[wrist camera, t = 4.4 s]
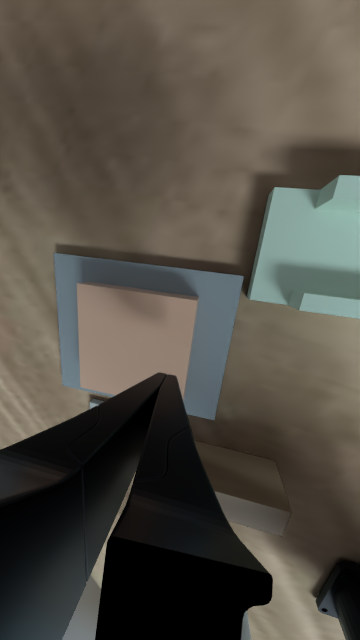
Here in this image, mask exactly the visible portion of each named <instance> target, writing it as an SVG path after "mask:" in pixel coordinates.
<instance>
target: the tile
mask: <svg viewBox="0 0 360 640" xmlns="http://www.w3.org/2000/svg"><path fill="white" fill-rule="evenodd" d="M198 303H199V297H196V296H189V295H182V294H175V293H168V292H160V291H153V290H146V289H139V288H132V287H125V286H118V285H111V284H104V283H97V282H84V283H77V305H78V333H79V360H80V387H81V388H86V389H90V390H94V391H99V392H103V393H107V394H112V395H117V394H119V393H121V392H123V391H125V390H126V389H128V388H130V387H132V386H134V385H136V384H138V383H139V382H141V381H143V380H145V379H147V378H149V377H151V376H152V375H154V374H156V373H158V372H161V373H166V374H167V375H168V374H171V375H176V376H177V379H178V383H179V387H180V390H181V394H182V398H183V402H184V398H185V392H186V385H187V379H188V372H189V365H190V358H191V351H192V344H193V337H194V330H195V324H196V317H197V310H198Z"/></svg>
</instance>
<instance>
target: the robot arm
mask: <svg viewBox="0 0 360 640" xmlns="http://www.w3.org/2000/svg"><path fill="white" fill-rule="evenodd" d="M136 469H137V470H136ZM135 472H136V474H135ZM134 474H135V477H134V481H133V485H132V488H131V491H130V495H129V498H128V501H127V503H126V506H125V508H124V510H123V512H122V514H121V516H120V518H119V520H118V522H117V524H116V526H115V528H114V530H113V531H112V533H111V535H110V537H109V539H108V542H107V547H106V555H105V563H104V572H103V580H102V588H101V596H100V604H99V613H98V621H97V629H96V637H95V640H241V634H242V622H243V617H244V613H245V612H246V611H247V610H248V609H249V608H251V607H253V606H259V605H266V604H268V603H269V602H270V601H271V598H272V584H273V579H272V576H271V575H270V573H269V572H268V571H267V570H266V569H265V568H264V567H263V566H262V564H261V563H260V562H259V561H258V560H257V559H256V558H255V557H254V555H253V554H252V553H251V552H250V551H249V550H248V549H247V548H246V546H245V545H244V544H243V543H242V542H241V541H240V540H239V538H238V537H237V535H236V534H235V533H234V531H233V529H232V528H231V526H230V524H229V523H228V521H227V519H226V517H225V515H224V512H223V510H222V508H221V506H220V503H219V501H218V499H217V496H216V494H215V492H214V489H213V487H212V485H211V482H210V480H209V477H208V475H207V473H206V470H205V468H204V466H203V463H202V461H201V458H200V456H199V453H198V451H197V448H196V444H195V441H194V438H193V435H192V431H191V428H190V424H189V420H188V416H187V413H186V409H185V405H184V402H183V398H182V394H181V390H180V387H179V383H178V379H177V376H176V375H171V374H168V375H167V374H166V373H161V372H158V373H156V374H154V375H152V376H151V377H149V378H147V379H145V380H143V381H141V382H139V383H138V384H136V385H134V386H132V387H130V388H128V389H126V390H125V391H123V392H121V393H119V394H117V395H115V396H113V397H112V398H110V399H108V400H106V401H104V402H102V403H100V404H99V405H97V406H95V407H93V408H91V409H89V410H87V411H85V412H83V413H81V414H79V415H77V416H75V417H73V418H71V419H69V420H67V421H65V422H63V423H60V424H58V425H56V426H54V427H52V428H49V429H47V430H45V431H43V432H40V433H38V434H36V435H34V436H31V437H29V438H27V439H24V440H22V441H20V442H18V443H15V444H13V445H11V446H8V447H6V448H3V449H1V450H0V640H62V638H63V636H64V634H65V632H66V629H67V627H68V625H69V622H70V620H71V618H72V616H73V613H74V611H75V609H76V606H77V604H78V602H79V600H80V597H81V595H82V593H83V591H84V588H85V586H86V582H87V581H88V579H89V576H90V574H91V572H92V570H93V567H94V565H95V563H96V561H97V558H98V556H99V554H100V551H101V549H102V547H103V545H104V542H105V540H106V538H107V535H108V533H109V531H110V529H111V526H112V524H113V522H114V520H115V517H116V515H117V513H118V510H119V508H120V506H121V504H122V501H123V499H124V497H125V494H126V492H127V490H128V488H129V485H130V483H131V481H132V478H133V476H134ZM316 604H317V607H318V610H319V611H320V612H321V613H324V614H327V615H330V616H332V617H335V618H338V619H339V622H340V625H341V627H342V630H343V633H344V636H345V639H346V640H360V565H356V564H353V563H350V562H346V561H340V562H338V563H337V565H336V566H335V568H334V570H333V572H332V573H331V575H330V577H329V579H328V580H327V582H326V584H325V585H324V587H323V589H322V591H321V592H320V594H319V596H318V597H317V599H316Z"/></svg>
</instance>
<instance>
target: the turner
mask: <svg viewBox="0 0 360 640" xmlns="http://www.w3.org/2000/svg"><path fill="white" fill-rule="evenodd" d="M102 402H104V401H101V400H96V399H92V401H91V402H90V409H91V408H93V407H95V406H97V405H99V404H100V403H102ZM195 444H196V448H197V451H198V453H199V456H200V458H201V461H202V463H203V466H204V468H205V470H206V473H207V475H208V477H209V480H210V482H211V485H212V487H213V489H214V492H215V494H216V496H217V499H218V501H219V503H220V506H221V508H222V510H223V512H224V515H225V517H226V519H227V520H228V521H231V522H234V523H238V524H241V525H244V526H248V527H251V528H254V529H258V530H261V531H264V532H268V533H271V534H274V535H278V536H281V537H282V535H283V533H284V530H285V528H286V525H287V523H288V521H289V518H290V516H291V513H292V512H291V509H290V506H289V503H288V500H287V497H286V493H285V490H284V487H283V484H282V481H281V478H280V475H279V471H278V468H277V465H276V462H275V461H274V460H270V459H266V458H262V457H258V456H254V455H250V454H246V453H242V452H238V451H234V450H230V449H226V448H222V447H218V446H214V445H210V444H206V443H202V442H198V441H195Z"/></svg>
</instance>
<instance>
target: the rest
mask: <svg viewBox="0 0 360 640" xmlns="http://www.w3.org/2000/svg"><path fill="white" fill-rule="evenodd" d="M247 298H248V299H250V300H256V301H263V302H271V303H278V304H285V305H289V306H291V307H293V308H296V309H298V310H301V311H308V312H315V313H323V314H330V315H337V316H344V317H351V318H358V319H360V176H349V175H339V176H338V177H336V178H335V179H334V180H332V181H331V182H330V183H329V184H327V185H326V186H325V187H323V188H322V189H321V190H314V189H297V188H279V187H274V189H273V190H272V191H271V193H270V194H269V196H268V201H267V205H266V210H265V215H264V219H263V224H262V228H261V233H260V238H259V242H258V247H257V252H256V256H255V261H254V266H253V270H252V275H251V279H250V284H249V289H248V293H247Z"/></svg>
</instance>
